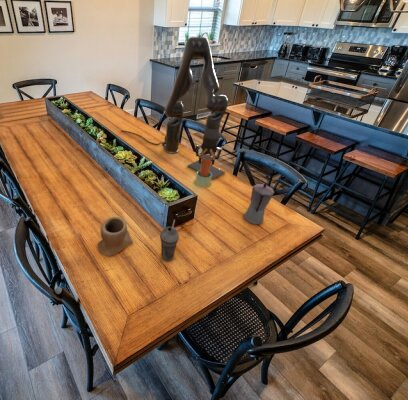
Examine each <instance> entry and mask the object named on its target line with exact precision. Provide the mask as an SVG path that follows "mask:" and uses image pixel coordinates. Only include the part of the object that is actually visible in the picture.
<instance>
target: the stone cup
mask: <svg viewBox="0 0 408 400" xmlns="http://www.w3.org/2000/svg"><path fill="white" fill-rule="evenodd" d="M100 237H101V239H100V240H99V241H98V242H97V244H96V246H97V250H98V251H99V252H100V253H101V254H102V256H106V257H111V256H115V255H116V254H118V253H120V252H121V251H123V250H124V249H126V248H127V247H129V246H130V245H132V244H133V238H132V237H131V236H130V232H129V230H128V225H127V222H126V221H125V219H124V218H122V217H120V216H111V217H108V218H107V219H105V220H104V221H103V222H102V224H101V226H100Z"/></svg>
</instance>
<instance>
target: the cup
mask: <svg viewBox="0 0 408 400" xmlns="http://www.w3.org/2000/svg"><path fill="white" fill-rule="evenodd" d="M211 178H212V173H211V172H210V171H209V175H208V176H207V177H203V176H201V175H200V170H199V171H196V175H195V181H194V182H195V184H196V185H197V186H199V187H203V188H206V187H209V186H210V185H211V182H212V179H211Z"/></svg>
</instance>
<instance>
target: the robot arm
mask: <svg viewBox="0 0 408 400" xmlns="http://www.w3.org/2000/svg"><path fill="white" fill-rule="evenodd" d="M193 59H201V60H202V62H203V68H202V71H201V76H200V80H201V84H202V87H203V90H204V100H205V101H204V102H205V107H206V109H207V110H208V111H209V112H212V113H211V114H208V115H207V117H206V122H205V127H204V130H203V136H202V143H201V144H196V145H195V157H198V160H199V164H201V160H202V156H203V155H210V156H212V161H211V166H214V165H215V161H216V160H220V159H219V158H220V156H221V153H222V150H223V148H222V147H218V146H217V145H218V141H219V136H220V128H221V122H222V119H223V118H224V115H225V114H226V112H227V111H226V110H227V109H228V106H229V99H228V97H227V96H226V95H224V94H217V93H218V92H219V91H220V84H219V82H218V78H217V76H216V72H215V69H214V63H213V57H212V52H211V45H210V42H209V40H208V38H207V37H203V36H191V37H188V39H187V40H186V42H185V45H184V49H183V54H182V58H181V62H180V65H179V69H178V71H177V74H176V77H175V80H174V83H173V86H172V89H171V92H170V95H169V96H168V99H167V101H166V103H165V107H164V113H165V116H166V117H167V118H171V119H169V120H167V122H166V129H165V130H166V131H165V136H164V141H162V142H159V143H154V142H152V141H149V140H148V139H146V138H145V137H143V136H142V135H140V134H138V133H135V132H131V131H128V130H120V131H121V132H124V133H128V134H132V135H136V136H138V137H140V138H141V139H143V140H144V141H145V142H147V143H149V144H151V145H154V146H155V145H156V146H159V145H161V146H162V147H163V150H164V151H165V152H166V153H169V154H176V153H178V152H179V146H180V135H181V126H182V123H183V122H182V121H183V116H184V104H183V102H182V101H180V99H182V98H183V97H184V96H185V95H186V94H187V93H188V92H189V90H190V88H191V86H192V84H193V80H194V79H193V72H192V69H191V63H192V61H193ZM215 94H216V95H215ZM200 149H201V151H200ZM216 151H217V154H215V152H216Z"/></svg>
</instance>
